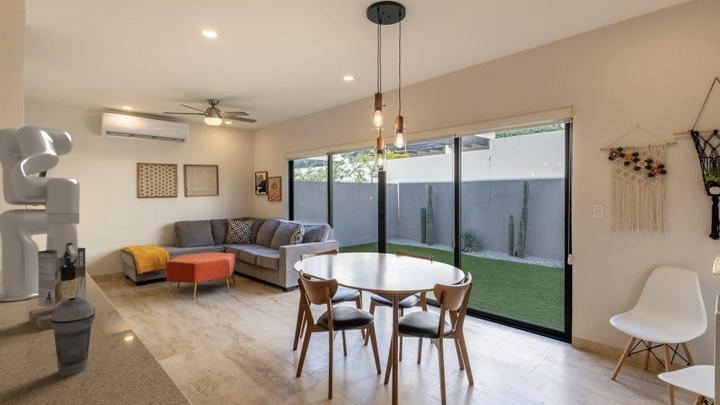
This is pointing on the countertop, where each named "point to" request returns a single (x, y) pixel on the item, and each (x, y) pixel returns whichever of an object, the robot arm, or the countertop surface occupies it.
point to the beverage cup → (72, 333)
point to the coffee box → (58, 278)
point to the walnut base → (43, 317)
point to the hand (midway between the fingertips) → (62, 277)
